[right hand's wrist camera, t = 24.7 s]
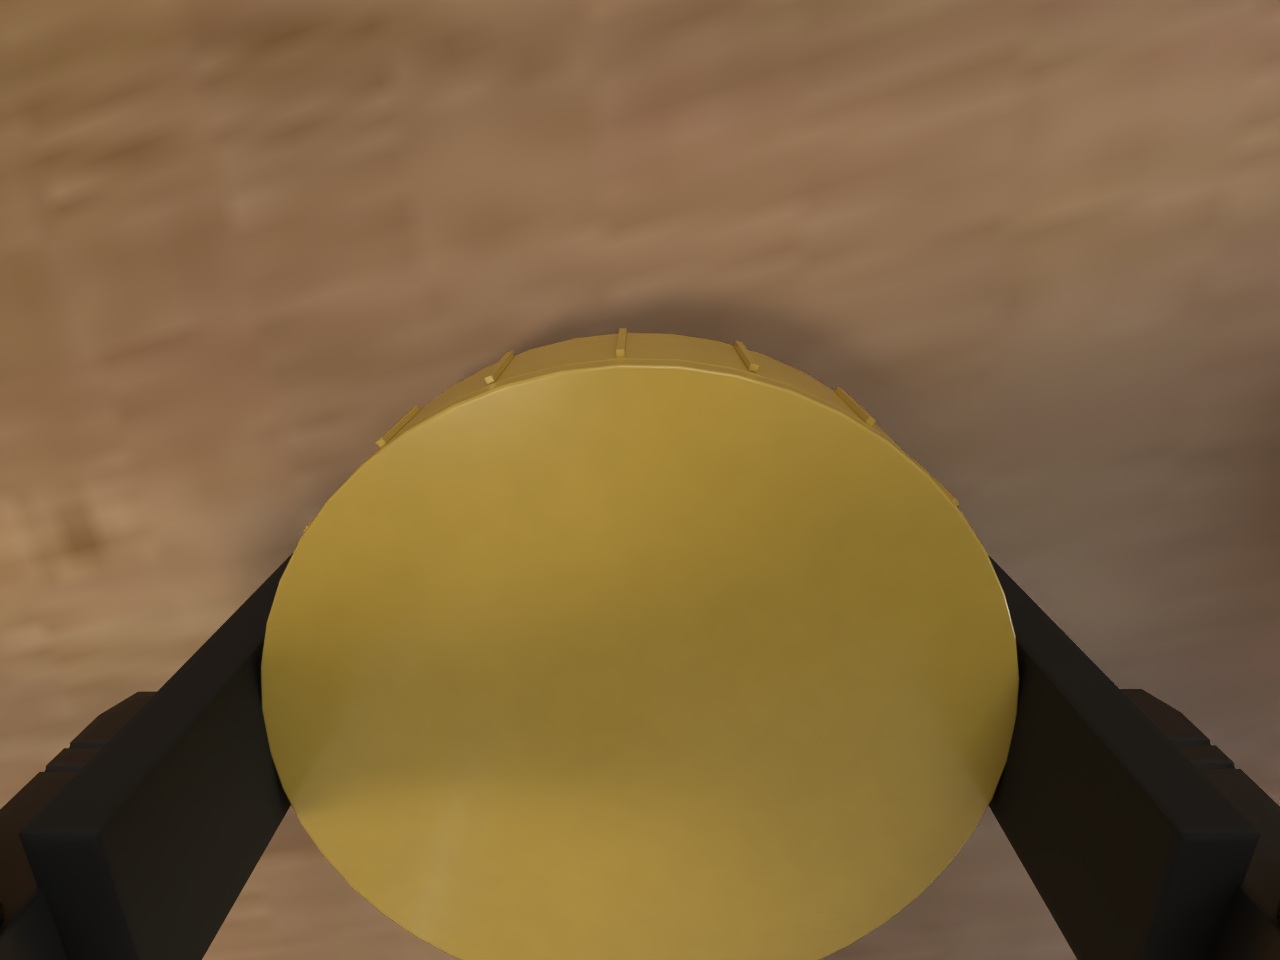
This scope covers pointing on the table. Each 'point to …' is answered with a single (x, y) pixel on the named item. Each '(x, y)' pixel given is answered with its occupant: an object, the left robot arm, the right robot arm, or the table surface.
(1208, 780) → the right robot arm
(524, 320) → the table surface
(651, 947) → the lid
